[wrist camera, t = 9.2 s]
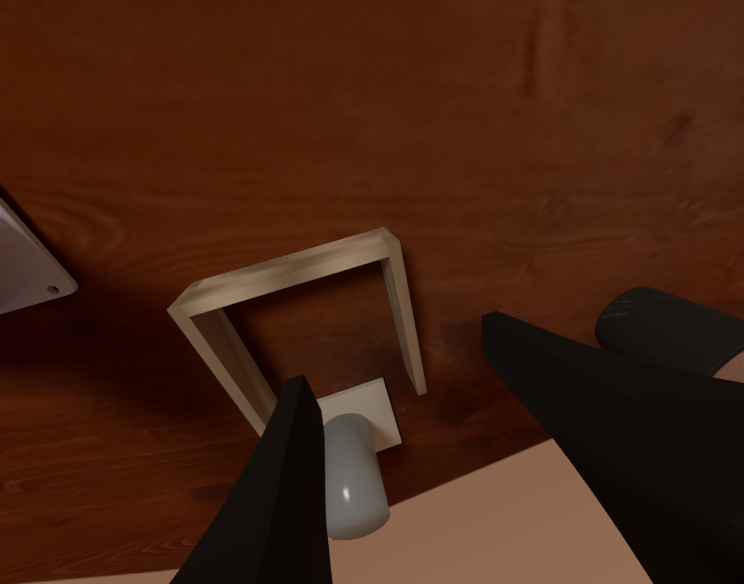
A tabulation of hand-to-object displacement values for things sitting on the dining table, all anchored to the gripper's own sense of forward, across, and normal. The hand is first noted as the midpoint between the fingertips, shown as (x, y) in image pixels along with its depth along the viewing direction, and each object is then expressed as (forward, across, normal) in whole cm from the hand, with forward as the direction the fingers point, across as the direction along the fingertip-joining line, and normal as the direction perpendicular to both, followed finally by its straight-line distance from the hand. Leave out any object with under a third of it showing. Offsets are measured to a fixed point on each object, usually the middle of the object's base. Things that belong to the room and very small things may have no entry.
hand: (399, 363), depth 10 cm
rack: (+10, +4, +4) cm, 11 cm away
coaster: (+10, +6, +16) cm, 20 cm away
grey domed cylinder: (+10, +6, +17) cm, 20 cm away
